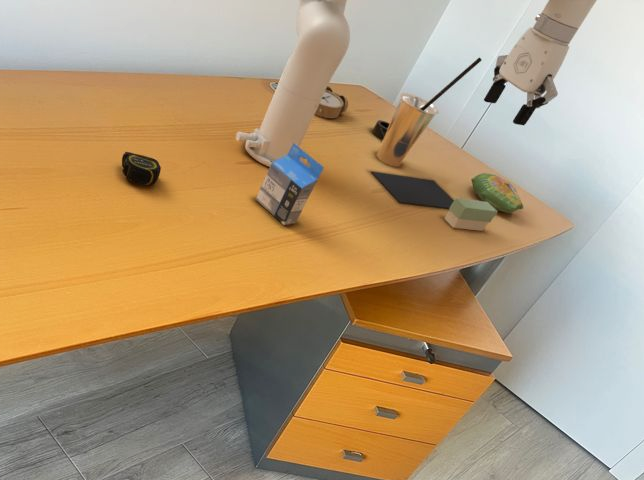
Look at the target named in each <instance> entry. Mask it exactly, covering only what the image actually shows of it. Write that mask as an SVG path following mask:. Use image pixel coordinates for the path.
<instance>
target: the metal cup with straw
mask: <svg viewBox="0 0 644 480" xmlns="http://www.w3.org/2000/svg"><path fill="white" fill-rule="evenodd" d="M482 61H483V60H482V58H481V57H478V58H477V59H475V61H473V62H472V63H471V64H470V65H468V67H467V68H464V70H463V71H461V72H460V73H459V74H458V75H457V76H456V77H455V78H454V79H453V80H452V81H450V82H449V83H448V84H447V85H446V86H444V88H442V89H441V90H440V91H439V92H438V93H437V94H435V96H433V97H432V98H431V99H430V100H429V101H428V100H426V99H424V98H422V97H420V96H417V95H414V94H412V93H408V92H407V93H406V92H401V93H400V94H399V101H398V103H397V106H396V108H395V110H394V113H393V115H392V117H391V119H390V122H389V123H390V124H389V127H388V129H387V132H386V134H385V137H384V139H383V140H382V142H381V144H380V145H379V149H378V151H377V153H376V158H377V159H378V160H379V161H381V162H382V163H384V164H386V165H388V166H391V167H396V168H397V167H400V166H401V164H402V162H403V161H404V160H405V158H406V157H407V155H408V154H409V152H410V151H411V149H412V148H413V147H414V146H415V144H416V143H417V141H418V140H419V138H420V137H421V136H422V134H423V133H424V131H425V130H426V128H427V127H428V126H429V124H430V123H431V121H432V120H433V119H434V117H436V115H439V113H440V111H439V109H438V108H437V107H436V105H434V103H435V102H436V101H437V100H438V99H439V98H440V97H442V96H443V95H444V94H445V93H446V92H447V91H448V90H450V89H451V88H452V87H453V86H455V85H456V84H457V83H458V82H459V81H461V79H462V78H464V77H465V76H466V75H467V74H468V73H469V72H470V71H471V70H472V69H474V68H475V67H476V66H478V65H479V64H480V63H481V62H482Z"/></svg>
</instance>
